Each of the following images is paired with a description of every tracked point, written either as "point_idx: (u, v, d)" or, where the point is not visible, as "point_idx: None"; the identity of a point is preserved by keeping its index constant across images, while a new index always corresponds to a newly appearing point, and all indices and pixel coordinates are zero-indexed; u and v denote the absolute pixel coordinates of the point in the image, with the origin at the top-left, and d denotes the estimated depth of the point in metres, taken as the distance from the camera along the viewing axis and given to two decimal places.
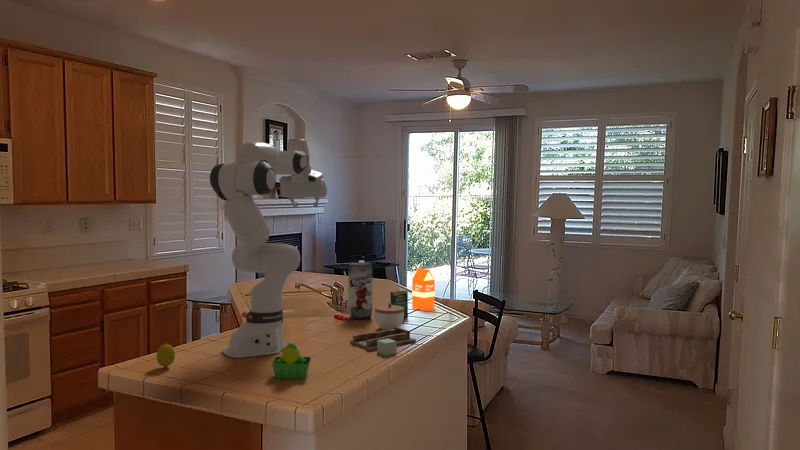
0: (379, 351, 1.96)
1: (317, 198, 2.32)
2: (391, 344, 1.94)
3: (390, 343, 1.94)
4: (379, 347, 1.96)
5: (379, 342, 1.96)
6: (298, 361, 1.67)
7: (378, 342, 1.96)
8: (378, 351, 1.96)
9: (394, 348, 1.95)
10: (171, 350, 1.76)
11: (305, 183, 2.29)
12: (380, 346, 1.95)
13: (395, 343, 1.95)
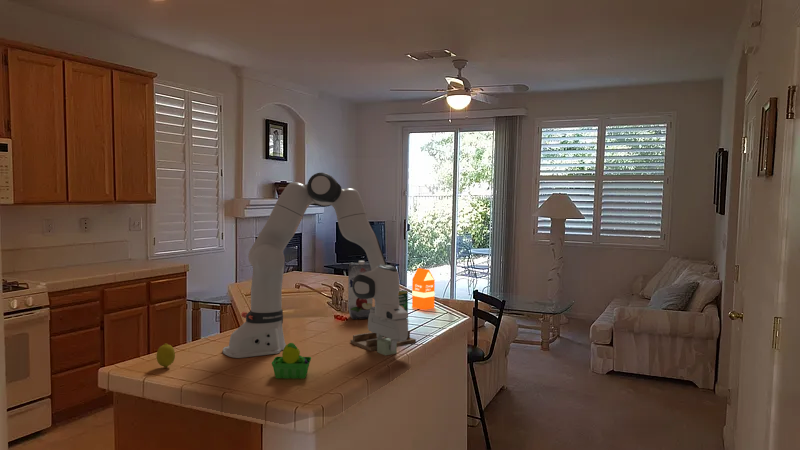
0: (379, 351, 1.96)
1: (392, 340, 1.92)
2: None
3: (390, 343, 1.94)
4: (379, 347, 1.96)
5: (379, 342, 1.96)
6: (298, 361, 1.67)
7: (378, 342, 1.96)
8: (378, 351, 1.96)
9: None
10: (171, 350, 1.76)
11: (385, 319, 1.93)
12: (380, 345, 1.95)
13: None
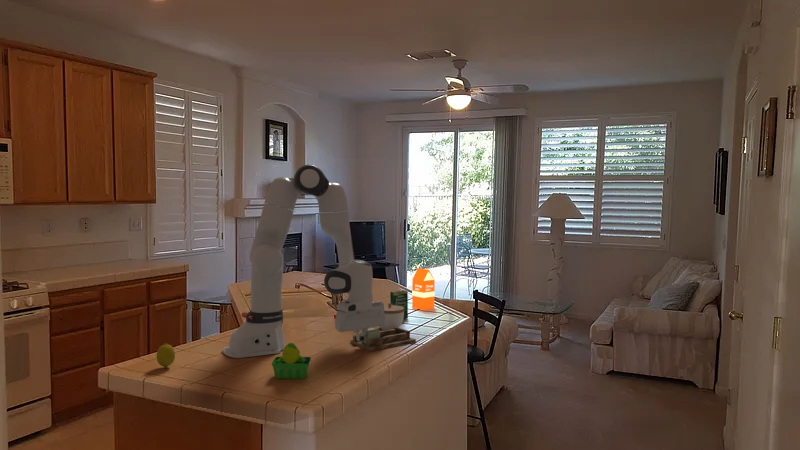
0: (363, 340, 2.06)
1: (354, 329, 2.03)
2: (375, 333, 2.05)
3: (374, 332, 2.04)
4: None
5: None
6: (298, 361, 1.67)
7: (362, 331, 2.06)
8: (363, 340, 2.06)
9: (378, 337, 2.05)
10: (171, 350, 1.76)
11: None
12: (365, 335, 2.05)
13: (379, 332, 2.06)
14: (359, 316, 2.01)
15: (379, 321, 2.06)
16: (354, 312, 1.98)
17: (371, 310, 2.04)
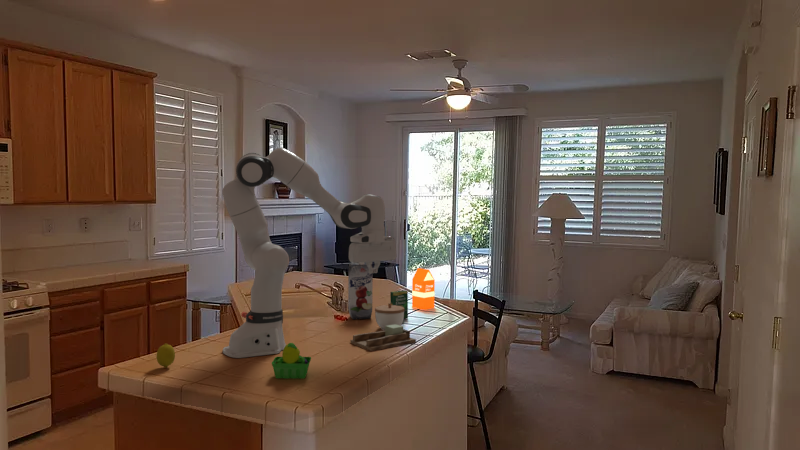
0: None
1: (366, 262, 2.08)
2: (398, 329, 2.11)
3: (397, 328, 2.11)
4: (387, 332, 2.13)
5: (387, 327, 2.13)
6: (298, 361, 1.67)
7: (386, 327, 2.13)
8: None
9: None
10: (171, 350, 1.76)
11: None
12: (388, 331, 2.12)
13: (402, 328, 2.12)
14: (372, 249, 2.06)
15: (391, 255, 2.11)
16: (367, 244, 2.03)
17: (383, 243, 2.09)
